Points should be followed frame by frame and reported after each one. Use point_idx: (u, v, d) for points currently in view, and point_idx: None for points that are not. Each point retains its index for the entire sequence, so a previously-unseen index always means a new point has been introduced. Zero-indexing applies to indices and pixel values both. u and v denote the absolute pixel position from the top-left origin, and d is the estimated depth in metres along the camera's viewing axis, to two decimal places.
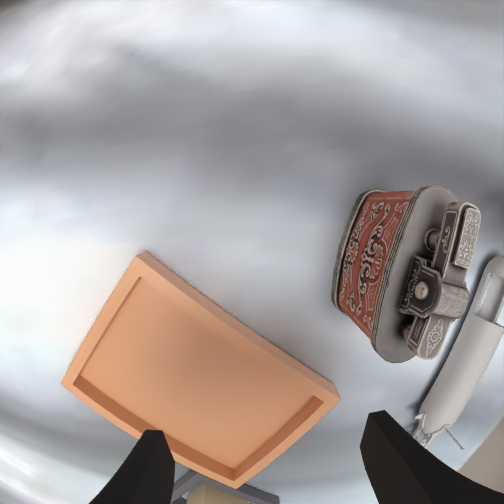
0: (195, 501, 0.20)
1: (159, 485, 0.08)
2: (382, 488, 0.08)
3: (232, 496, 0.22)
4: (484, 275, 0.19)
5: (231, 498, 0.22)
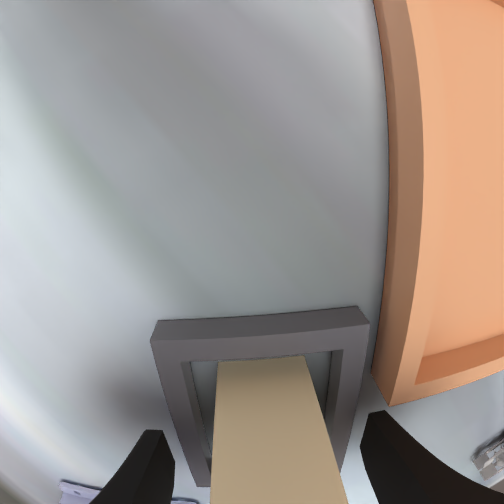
0: (270, 395, 0.09)
1: (159, 485, 0.08)
2: (382, 488, 0.08)
3: None
4: None
5: None
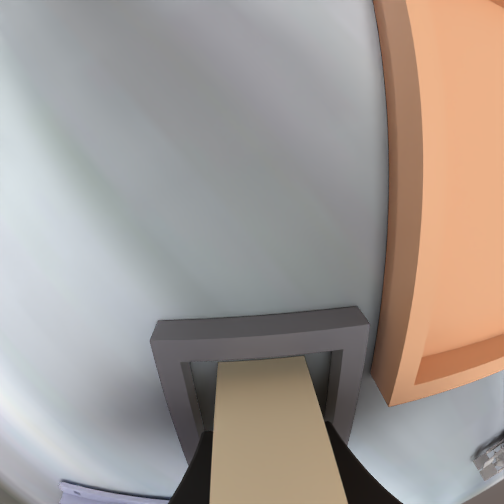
0: (269, 395, 0.09)
1: None
2: None
3: None
4: None
5: None
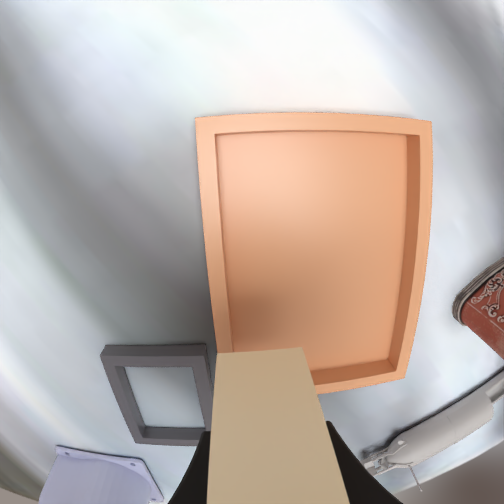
0: (267, 385, 0.09)
1: None
2: None
3: None
4: None
5: None
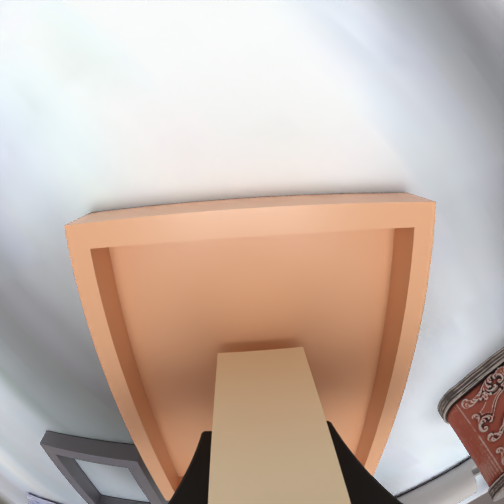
0: (269, 384, 0.09)
1: None
2: None
3: None
4: None
5: None
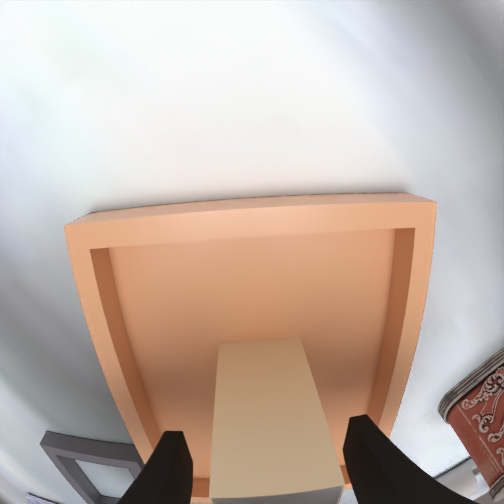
0: (267, 371, 0.10)
1: (180, 486, 0.08)
2: (362, 493, 0.08)
3: None
4: None
5: None
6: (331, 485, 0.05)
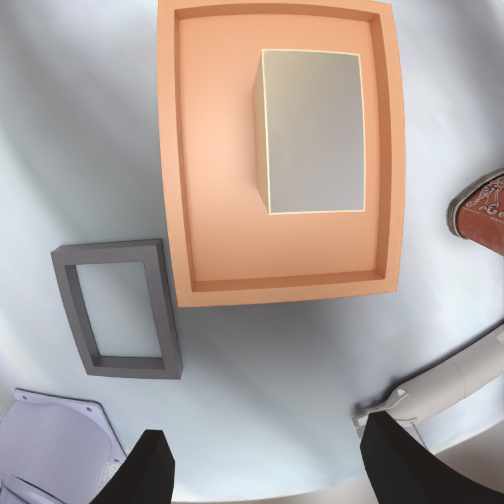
0: None
1: (159, 485, 0.08)
2: (382, 488, 0.08)
3: None
4: None
5: None
6: (349, 53, 0.08)
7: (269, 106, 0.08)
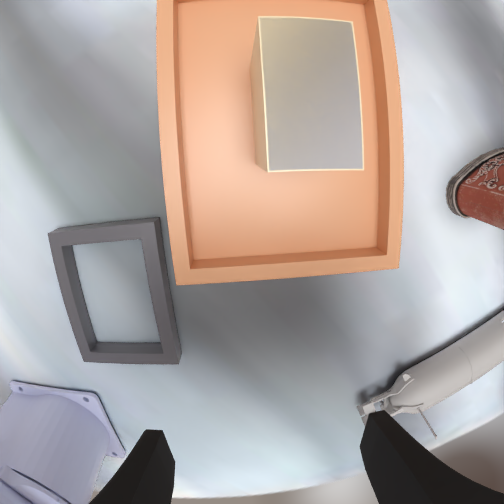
0: None
1: (159, 485, 0.08)
2: (382, 488, 0.08)
3: None
4: None
5: None
6: (343, 20, 0.08)
7: (266, 67, 0.08)
